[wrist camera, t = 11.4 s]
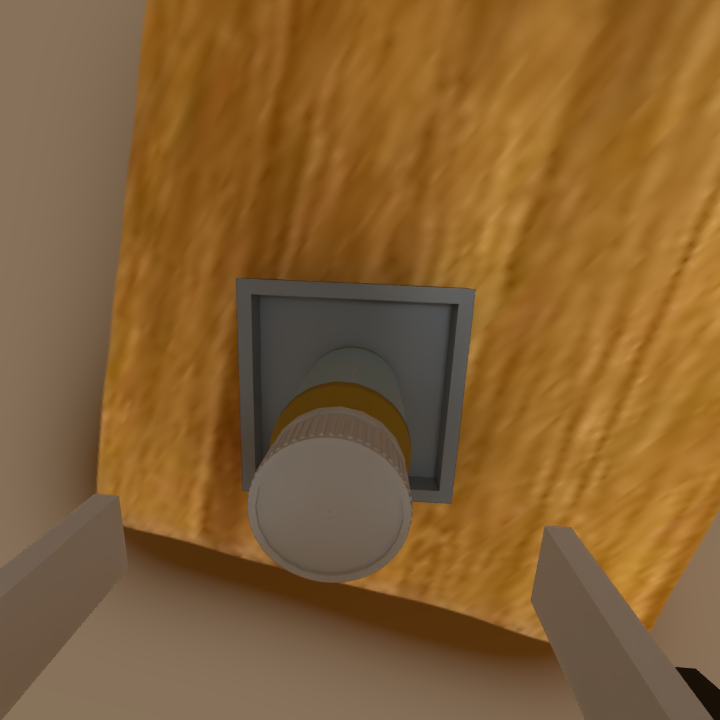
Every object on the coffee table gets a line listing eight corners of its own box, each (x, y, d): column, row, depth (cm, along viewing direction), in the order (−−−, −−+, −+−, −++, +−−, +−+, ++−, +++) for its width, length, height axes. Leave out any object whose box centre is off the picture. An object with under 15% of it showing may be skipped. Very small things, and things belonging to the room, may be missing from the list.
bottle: (305, 428, 29) (235, 584, 14) (309, 341, 27) (233, 417, 13) (394, 435, 29) (414, 600, 14) (402, 348, 27) (434, 433, 13)
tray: (248, 278, 27) (236, 278, 25) (466, 288, 27) (475, 289, 24) (253, 473, 31) (242, 490, 28) (445, 485, 30) (451, 503, 28)
